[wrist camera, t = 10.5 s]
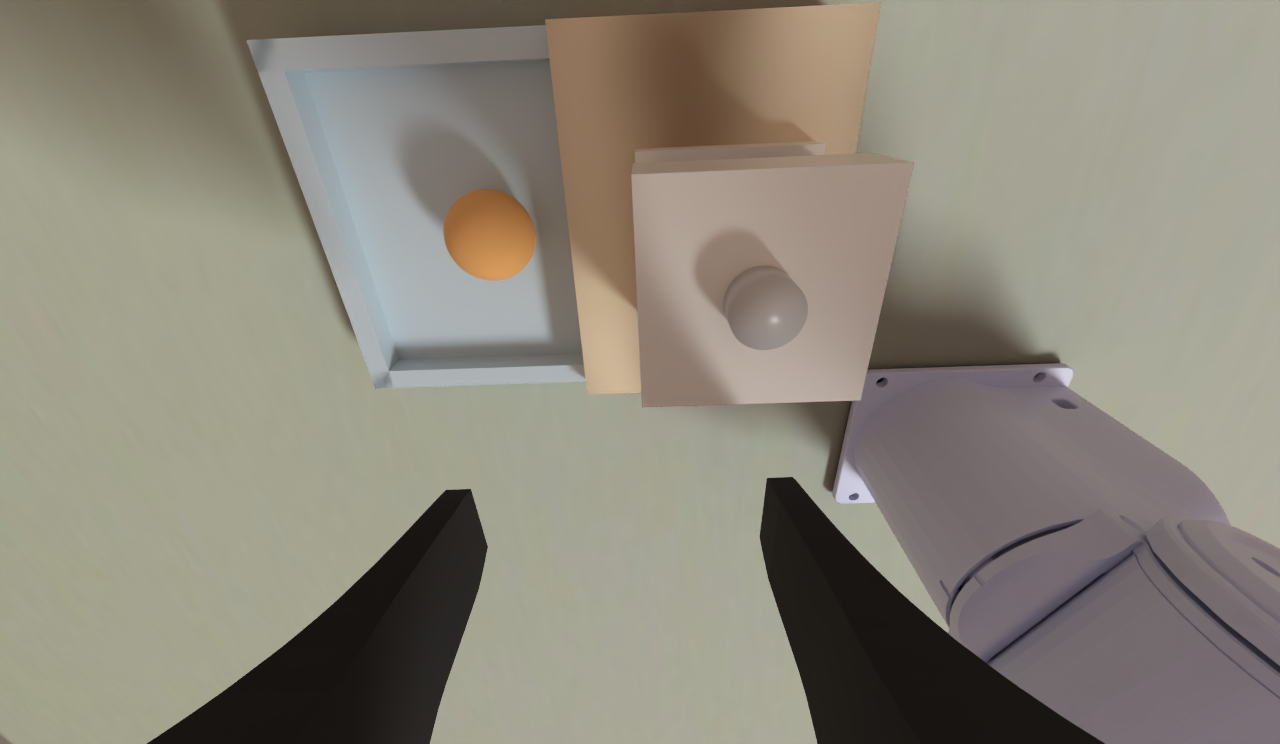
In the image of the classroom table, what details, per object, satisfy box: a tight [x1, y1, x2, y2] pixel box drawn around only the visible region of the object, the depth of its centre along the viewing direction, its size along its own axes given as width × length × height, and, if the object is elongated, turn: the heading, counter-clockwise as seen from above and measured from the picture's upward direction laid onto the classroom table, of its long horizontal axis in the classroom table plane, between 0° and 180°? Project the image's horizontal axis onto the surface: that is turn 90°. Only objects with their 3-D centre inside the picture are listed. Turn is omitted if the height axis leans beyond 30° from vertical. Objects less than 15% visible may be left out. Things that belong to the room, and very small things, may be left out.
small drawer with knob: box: [631, 141, 914, 407], centre depth 13 cm, size 5×5×7 cm
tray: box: [246, 25, 586, 388], centre depth 18 cm, size 9×12×2 cm
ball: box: [444, 189, 536, 281], centre depth 16 cm, size 3×3×3 cm
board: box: [545, 2, 881, 394], centre depth 17 cm, size 9×12×3 cm
